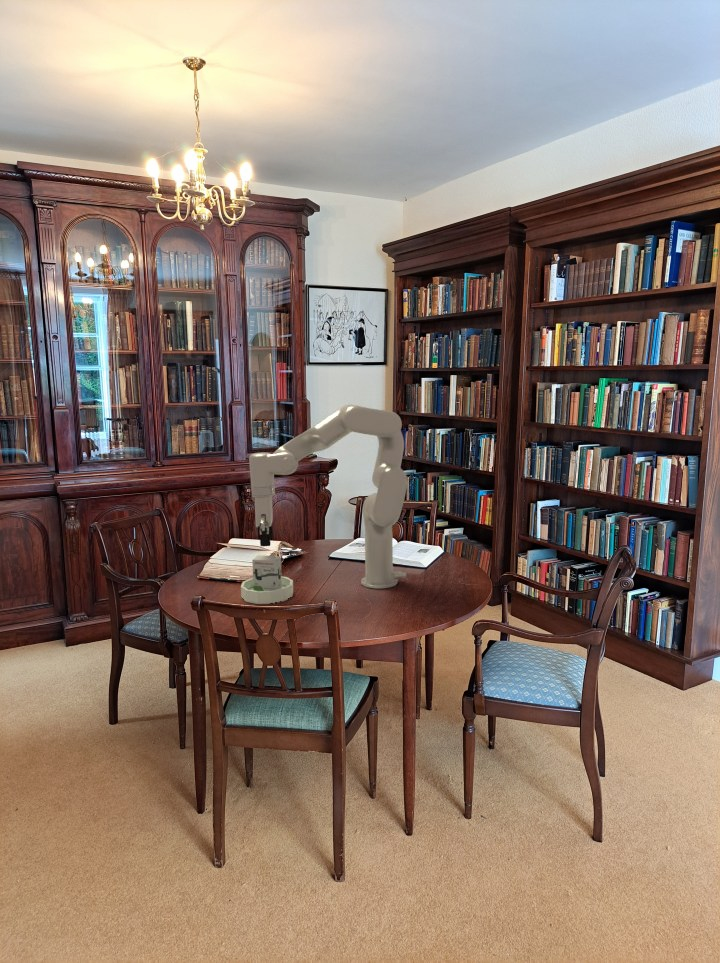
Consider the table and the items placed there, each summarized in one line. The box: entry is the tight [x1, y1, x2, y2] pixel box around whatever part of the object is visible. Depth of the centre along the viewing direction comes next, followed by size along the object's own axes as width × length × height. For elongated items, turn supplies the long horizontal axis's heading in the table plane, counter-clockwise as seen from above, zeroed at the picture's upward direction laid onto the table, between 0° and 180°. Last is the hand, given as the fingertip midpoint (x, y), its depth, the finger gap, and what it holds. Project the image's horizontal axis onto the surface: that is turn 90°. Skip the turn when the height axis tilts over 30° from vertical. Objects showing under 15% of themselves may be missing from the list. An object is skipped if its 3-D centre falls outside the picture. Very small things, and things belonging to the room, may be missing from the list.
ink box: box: [252, 554, 282, 591], centre depth 214 cm, size 9×5×12 cm, turn 78°
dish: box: [240, 575, 294, 605], centre depth 214 cm, size 17×17×4 cm
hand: (266, 541), depth 212 cm, fingers open, 9 cm apart
